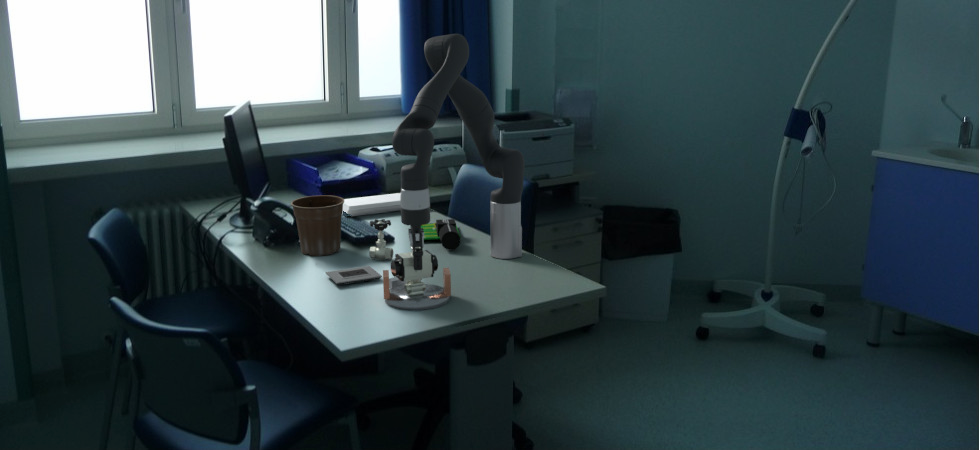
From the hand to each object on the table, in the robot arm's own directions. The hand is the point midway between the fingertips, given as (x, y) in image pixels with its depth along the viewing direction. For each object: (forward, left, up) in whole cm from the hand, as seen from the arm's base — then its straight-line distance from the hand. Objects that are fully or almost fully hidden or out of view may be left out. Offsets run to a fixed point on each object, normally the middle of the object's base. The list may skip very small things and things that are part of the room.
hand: (417, 264), depth 235 cm
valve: (+9, -37, -10) cm, 39 cm away
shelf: (+8, -97, -10) cm, 98 cm away
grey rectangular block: (+5, -11, -10) cm, 16 cm away
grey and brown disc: (0, 0, -10) cm, 10 cm away
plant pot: (+28, -49, -10) cm, 57 cm away
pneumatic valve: (+1, 0, -8) cm, 8 cm away
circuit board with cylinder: (-9, -57, -10) cm, 59 cm away
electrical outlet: (+17, -19, -10) cm, 28 cm away
